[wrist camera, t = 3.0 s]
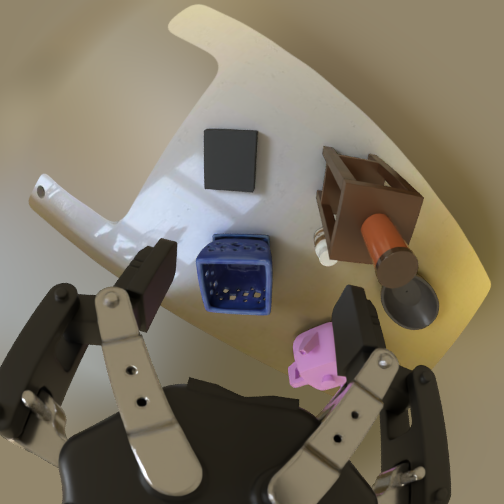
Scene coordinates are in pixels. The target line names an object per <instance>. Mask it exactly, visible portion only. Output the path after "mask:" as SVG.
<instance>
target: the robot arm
mask: <svg viewBox="0 0 504 504" xmlns="http://www.w3.org/2000/svg"><path fill="white" fill-rule="evenodd" d="M176 258H177V242H175V241H171V240H167V239H163V238H161V239H160V240H159V241H158V242H157V244H156V245H155V246H154V247H150V246H147V247H145V248H144V249H142V250H140V251H139V252H138V253H137V255H136V256H135V257H134V260H132V261H131V263H130V265H129V266H128V267H127V268H126V269H125V271H124V272H123V274H122V275H121V276H120V278H119V279H118V280H117V282H116V283H115V285H114V286H113V287H107V288H104V289H102V290H101V291H99V293H98V294H97V295H82V294H78V293H77V289H76V288H75V287H74V286H73V285H71V284H68V283H61V284H58V285H56V286H54V287H52V288H51V289H50V291H49V292H48V293H47V295H46V296H45V297H44V299H43V300H42V302H41V303H40V304H39V306H38V307H37V308H36V310H35V311H34V313H33V314H32V316H31V317H30V319H29V320H28V322H27V323H26V325H25V326H24V328H23V329H22V331H21V333H20V334H19V336H18V337H17V339H16V341H15V342H14V344H13V346H12V348H11V349H10V351H9V352H8V354H7V356H6V358H5V360H4V361H3V363H2V365H1V367H0V435H1V436H2V437H3V438H5V439H6V440H8V441H10V442H11V443H14V444H15V445H16V446H18V447H20V448H23V449H25V450H27V451H29V452H31V453H34V454H35V455H37V456H38V457H40V458H42V459H43V460H45V461H47V462H48V463H50V464H52V465H54V466H56V467H57V468H59V472H60V477H61V482H62V491H63V500H62V504H448V502H449V500H450V497H451V478H450V463H449V453H448V444H447V436H446V429H445V422H444V416H443V411H442V405H441V400H440V396H439V391H438V386H437V382H436V378H435V375H434V373H433V372H432V371H431V370H430V369H429V368H428V367H426V366H424V365H419V366H417V367H415V368H414V369H413V370H409V369H407V368H404V367H402V366H400V365H399V363H398V360H397V358H396V356H395V355H394V354H393V353H392V352H391V351H389V350H388V349H386V345H385V341H384V337H383V333H382V330H381V326H380V322H379V319H378V315H377V311H376V308H375V307H374V305H373V304H372V303H371V301H370V300H367V299H366V295H365V291H364V289H363V288H361V287H357V286H353V285H347V286H346V287H345V289H344V291H343V293H342V294H341V296H340V298H339V300H338V302H337V303H336V305H335V307H334V309H333V313H332V326H333V334H334V344H335V354H336V365H337V376H343V377H346V382H345V383H344V384H343V386H342V387H341V388H340V389H339V391H338V392H337V393H336V394H335V396H334V397H333V398H332V399H331V401H330V402H329V403H328V404H327V405H326V407H325V408H324V409H323V410H322V411H321V412H320V413H319V414H318V415H317V416H316V417H315V416H314V415H313V414H311V413H310V412H308V411H306V410H305V409H303V408H300V407H299V399H292V398H285V397H278V396H262V397H261V396H260V397H243V396H241V395H238V394H236V393H234V392H232V391H230V390H227V389H225V388H223V387H221V386H219V385H217V384H213V383H209V382H205V381H201V380H198V379H194V378H190V377H189V380H188V384H175V385H169V386H166V387H161V384H160V382H159V379H158V377H157V374H156V372H155V369H154V366H153V364H152V361H151V358H150V356H149V353H148V350H147V347H146V344H145V342H144V339H143V336H142V335H140V332H139V330H140V331H143V332H146V333H147V331H148V329H149V327H150V325H151V323H152V321H153V319H154V317H155V314H156V313H157V311H158V308H159V307H160V305H161V303H162V301H163V299H164V297H165V295H166V293H167V291H168V289H169V287H170V285H171V283H172V281H173V279H174V276H175V272H176ZM89 344H90V345H101V346H102V351H103V355H104V360H105V364H106V368H107V372H108V376H109V379H110V383H111V386H112V390H113V393H114V397H115V400H116V403H117V406H118V409H119V412H117V413H116V414H113V415H112V416H110V417H108V418H106V419H104V420H102V421H100V422H99V423H97V424H95V425H93V426H91V427H89V428H87V429H85V430H83V431H81V432H79V433H77V434H75V435H73V436H72V437H70V438H69V439H67V437H66V434H65V426H66V416H65V413H64V411H63V409H62V408H61V405H62V402H63V400H64V397H65V395H66V392H67V390H68V388H69V386H70V383H71V381H72V379H73V377H74V374H75V372H76V370H77V368H78V366H79V364H80V362H81V359H82V357H83V355H84V353H85V351H86V349H87V347H88V345H89ZM408 408H411V416H412V425H411V427H410V426H409V416H408ZM379 413H380V429H381V474H380V475H379V476H378V477H377V479H376V481H375V483H374V484H373V486H372V488H371V487H370V485H369V484H368V483H367V482H366V480H365V479H364V478H363V477H362V476H361V474H360V473H359V472H358V470H357V469H356V468H355V466H354V465H353V464H352V463H351V461H350V460H349V459H350V457H351V456H352V454H353V453H354V452H355V450H356V449H357V447H358V446H359V444H360V443H361V441H362V440H363V438H364V437H365V435H366V434H367V432H368V431H369V429H370V428H371V426H372V424H373V423H374V421H375V419H376V418H377V416H378V414H379Z"/></svg>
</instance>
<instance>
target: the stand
mask: <svg viewBox="0 0 504 504" xmlns="http://www.w3.org/2000/svg"><path fill="white" fill-rule="evenodd" d="M322 155H323V156H324V158H325V160H326V169H325V176H324V183H323V189H322V191H320V190H317V196H316V199H317V203H318V207H319V212H320V216H321V221H322V225H323V230H324V234H325V239H326V244H327V249H328V254H329V260H337V261H346V262H355V263H365V264H373V263H372V260H371V258H370V255H369V253H368V250H367V248H366V245H365V243H364V240H363V238H362V235H361V227H362V225H363V223H364V221H365V220H366V219H367V218H368V217H370V216H371V215H374V214H385V215H387V216H388V217H390V218H391V220H392V221H393V223H394V224H395V226H396V227H397V229H398V230H399V232H400V234H401V235H402V237H403V238H404V240H405V241H406V243H407V245H409V242H410V240H411V237H412V234H413V231H414V228H415V225H416V222H417V219H418V216H419V213H420V209H421V206H422V203H423V199H424V197H423V196H422V195H421V194H420V193H418V192H417V191H416V190H415V189H414V188H413V187H412V186H411V185H410V184H409V183H408V182H407V181H406V180H405V179H403V178H402V177H401V176H400V175H399V174H398V173H397V172H396V171H394V170H393V169H392V168H391V167H390V166H389V165H387V164H386V163H385V162H384V161H383V160H382V159H380V158H379V157H378V156H377V155H372V154H369V155H368V160H367V159H361V158H356V157H350V156H344V155H338V154H337V153H336V152H335V150H334V149H333V148H332V147H327V146H323V153H322ZM385 180H386V182H387V183H388V184H389V185H390V186H391V187H388V186H384V182H385ZM333 214H335V215H336V220H335V218H334V215H333Z"/></svg>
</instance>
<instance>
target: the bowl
mask: <svg viewBox="0 0 504 504" xmlns="http://www.w3.org/2000/svg"><path fill="white" fill-rule="evenodd" d="M381 302H382V305H383V308H384V310H385V312H386V313H387V315H388V316H389V317H390V318H391V319H392V320H393V321H394V322H395V323H397V324H398V325H400V326H401V327H403V328H406V329H410V330H419V329H423V328H425V327H427V326H429V325H430V324H431V323H432V322H433V321H434V320H435V319H436V317H437V315H438V311H439V301H438V298H437V295H436V293H435V291H434V290H433V288H432V287H431V286H430V285H429V284H428V283H427V282H426V281H425V280H424V279H423V278H422V277H421V276H419V275H418V274H416V275H415V276H414V278H413V279H412V280H411V281H410V282H409V283H407V284H406V285H404V286H402V287H399V288H387V287H384V286H383V285H382V288H381Z"/></svg>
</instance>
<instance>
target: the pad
mask: <svg viewBox="0 0 504 504" xmlns="http://www.w3.org/2000/svg"><path fill="white" fill-rule="evenodd" d="M257 135H258V131H254V130H234V129H206V130H204V185H205V189H214V190H229V191H242V192H254V189H255V171H256V153H257Z"/></svg>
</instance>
